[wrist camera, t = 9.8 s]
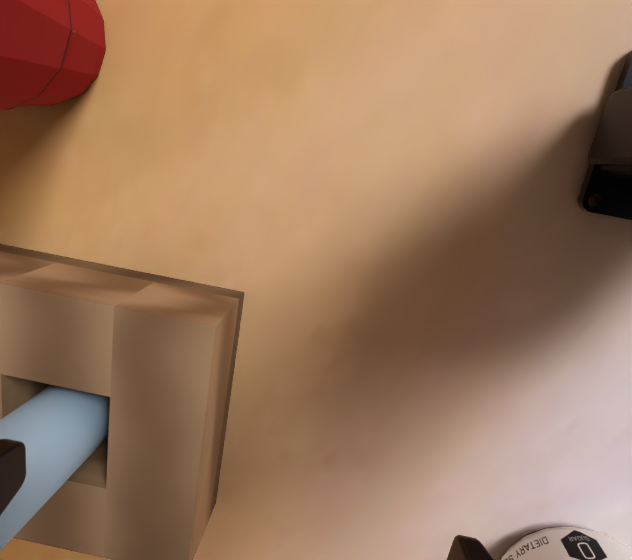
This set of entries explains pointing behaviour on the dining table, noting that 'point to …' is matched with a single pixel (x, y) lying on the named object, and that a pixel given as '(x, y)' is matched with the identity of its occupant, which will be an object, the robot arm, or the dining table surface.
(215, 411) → the bore block
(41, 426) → the pin
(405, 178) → the dining table surface
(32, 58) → the plastic cup
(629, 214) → the robot arm
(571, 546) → the supplement can
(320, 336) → the dining table surface
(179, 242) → the dining table surface
